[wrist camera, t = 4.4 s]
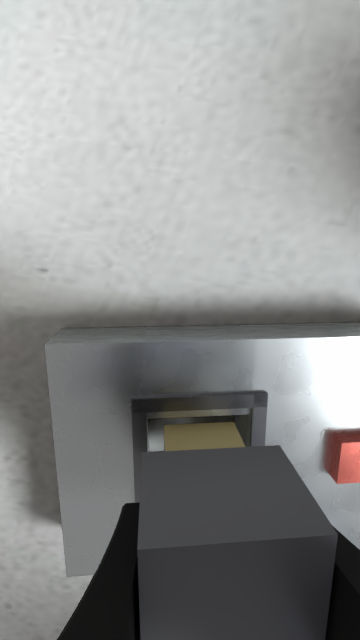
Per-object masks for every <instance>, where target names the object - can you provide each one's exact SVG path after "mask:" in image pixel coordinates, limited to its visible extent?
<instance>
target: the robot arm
mask: <svg viewBox="0 0 360 640" xmlns="http://www.w3.org/2000/svg"><path fill="white" fill-rule="evenodd" d="M139 506H140V502H138V503H126V504H124V505H123V506H122V510H121V513H120V516H119V519H118V522H117V525H116V528H115V530H114V533H113V535H112V538H111V540H110V542H109V545H108V547H107V549H106V551H105V553H104V556H103V558H102V560H101V562H100V564H99V566H98V568H97V570H96V572H95V574H94V576H93V578H92V580H91V582H90V584H89V586H88V588H87V589H86V591H85V593H84V595H83V597H82V599H81V600H80V602H79V604H78V606H77V607H76V609H75V611H74V613H73V614H72V616H71V618H70V619H69V621H68V623H67V624H66V626H65V628H64V629H63V631H62V632H61V634H60V636H59V637H58V639H57V640H141V639H140V611H139V584H138V556H137V546H138V526H139ZM333 528H334V529H335V531H336V532H337V534H338V538H337V546H336V554H335V563H334V571H333V579H332V587H331V595H330V604H329V612H328V620H327V628H326V636H325V640H360V550H359V549H358V548H357V547H356V546H355V545H354V544H353V543H351V542H350V541H349V540H348V539H347V538H346V537H345V536H343V535H342V534H341V533H340V532H339V531H338V530H337V529H336V528H335V527H334V526H333Z"/></svg>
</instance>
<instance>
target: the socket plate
mask: <svg viewBox="0 0 360 640" xmlns="http://www.w3.org/2000/svg"><path fill="white" fill-rule="evenodd" d="M44 347H45V357H46V368H47V378H48V388H49V399H50V409H51V419H52V430H53V440H54V450H55V461H56V471H57V481H58V492H59V502H60V512H61V523H62V533H63V543H64V554H65V564H66V574H67V577H72V576H84V575H94V574H95V572H96V570H97V568H98V566H99V564H100V562H101V560H102V558H103V556H104V553H105V551H106V549H107V547H108V545H109V542H110V540H111V538H112V535H113V533H114V530H115V528H116V525H117V522H118V519H119V516H120V513H121V510H122V506H123V505H124V504H126V503H138V502H140V487H141V467H142V452H149V431H148V419H158V418H180V417H202V416H224V415H235V426H236V428H237V430H238V432H239V434H240V436H241V438H242V440H243V443H244V445H245V447H255V446H274V445H280V446H281V448H282V450H283V451H284V453H285V454H286V456H287V457H288V459H289V460H290V462H291V463H292V465H293V466H294V468H295V469H296V471H297V473H298V474H299V476H300V477H301V479H302V480H303V482H304V483H305V485H306V486H307V488H308V489H309V491H310V492H311V494H312V496H313V497H314V499H315V500H316V502H317V503H318V505H319V506H320V508H321V509H322V511H323V512H324V514H325V515H326V517H327V519H328V520H329V522H330V523H331V525H332V526H334V527H335V528H336V529H337V530H338V531H339V532H340V533H341V534H342V535H343V536H345V537H346V538H347V539H348V540H349V541H350V542H351V543H353V544H354V545H355V546H356V547H357V548H358V549H359V550H360V322H345V323H299V324H252V325H206V326H160V327H113V328H67V329H61V330H60V331H59V332H58V333H57V334H55V335H54V336H53V337H52V338H51V339H50V340H49V341H48V342H47V343H46V344H44Z"/></svg>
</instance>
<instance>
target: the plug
mask: <svg viewBox="0 0 360 640" xmlns="http://www.w3.org/2000/svg"><path fill="white" fill-rule="evenodd" d="M337 538H338V534H337V532H336V531H335V529H334V528H333V526H332V525H331V523H330V522H329V520H328V519H327V517H326V515H325V514H324V512H323V511H322V509H321V508H320V506H319V505H318V503H317V502H316V500H315V499H314V497H313V496H312V494H311V492H310V491H309V489H308V488H307V486H306V485H305V483H304V482H303V480H302V479H301V477H300V476H299V474H298V473H297V471H296V469H295V468H294V466H293V465H292V463H291V462H290V460H289V459H288V457H287V456H286V454H285V453H284V451H283V450H282V448H281V446H280V445H274V446H255V447H245V445H244V443H243V440H242V438H241V436H240V434H239V432H238V430H237V428H236V426H235V423H234V422H217V423H195V424H173V425H164V451H159V452H142V467H141V487H140V506H139V526H138V546H137V556H138V584H139V611H140V639H141V640H325V636H326V628H327V620H328V612H329V604H330V595H331V587H332V579H333V571H334V563H335V554H336V546H337Z"/></svg>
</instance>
